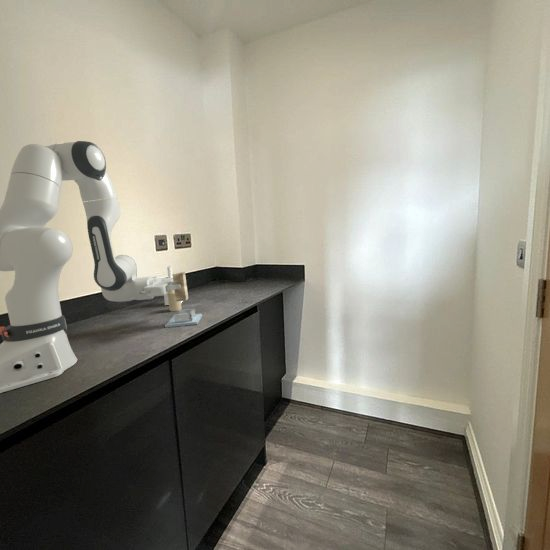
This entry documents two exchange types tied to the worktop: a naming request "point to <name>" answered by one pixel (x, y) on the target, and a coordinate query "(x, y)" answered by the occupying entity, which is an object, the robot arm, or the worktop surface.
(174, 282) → the beech post
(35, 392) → the worktop surface
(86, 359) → the worktop surface
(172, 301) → the candle
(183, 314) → the slot bracket
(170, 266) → the white tall bottle shape
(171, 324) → the base plate
